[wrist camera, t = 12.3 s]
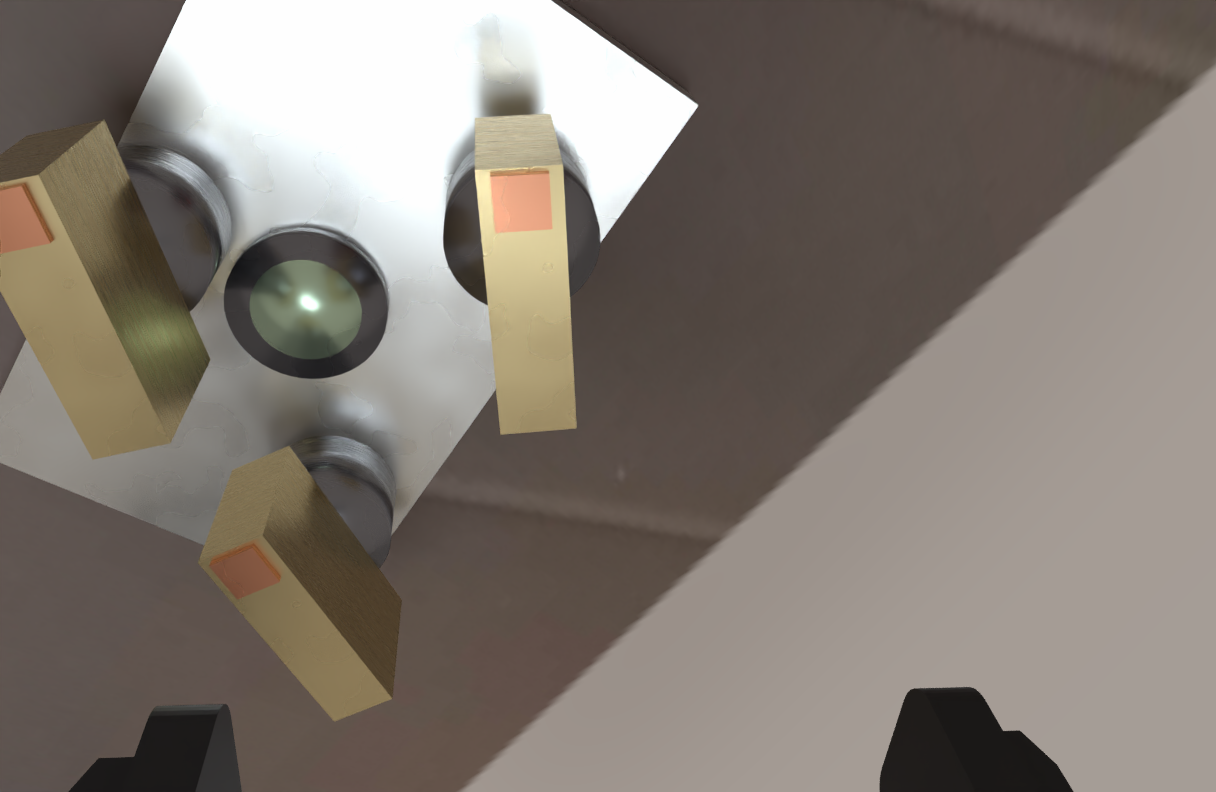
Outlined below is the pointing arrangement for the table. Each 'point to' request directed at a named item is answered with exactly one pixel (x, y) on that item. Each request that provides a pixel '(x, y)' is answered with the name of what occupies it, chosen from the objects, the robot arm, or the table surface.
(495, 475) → the table surface
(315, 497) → the knob
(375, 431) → the level plate
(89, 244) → the yellow paddle knob
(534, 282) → the knob
